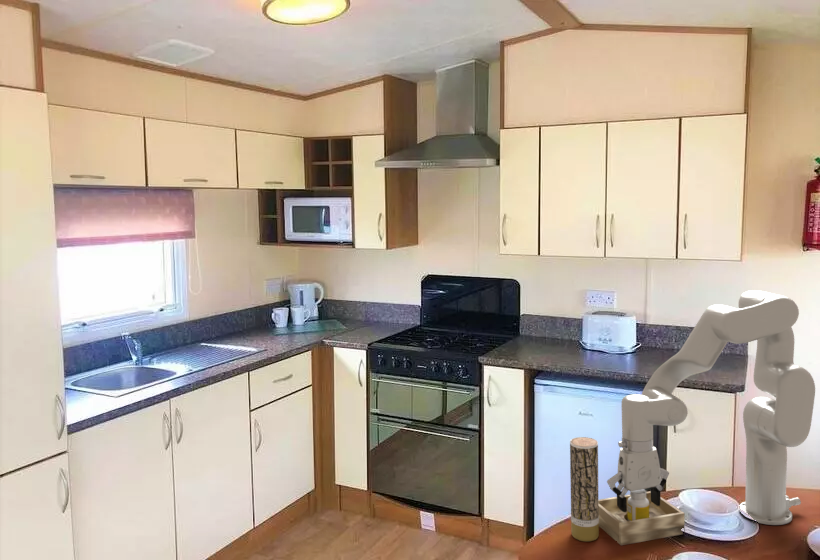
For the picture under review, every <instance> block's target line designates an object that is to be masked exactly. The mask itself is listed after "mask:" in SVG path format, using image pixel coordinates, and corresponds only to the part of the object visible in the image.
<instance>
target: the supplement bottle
mask: <svg viewBox="0 0 820 560" xmlns="http://www.w3.org/2000/svg"><path fill="white" fill-rule="evenodd" d="M646 492H647V490H646V489H641V490H635V491H629V495H630V496H631V497H629V498H628V501H627V515H628V516H627V517H628V521H633V520H639V519H645V518H649V501H648V499H647V498H646V496H647V495H646Z"/></svg>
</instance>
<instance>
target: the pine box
mask: <svg viewBox="0 0 820 560" xmlns="http://www.w3.org/2000/svg"><path fill="white" fill-rule="evenodd" d="M646 495H647V496H646V498H647V499H648V501H649V518H645V519H639V520H633V521H628V517H627V516H628V515H627V511H626V512H623V511H621V510H620V509H619V508H618V506H617V496H613V497H606V498H599V499H598V502H599V528H600V529H602V530H603V531H604V532H605V533H606V535H609V536H610V537H611V538H612V539H613V540H614V541H615V542H616V541H617V542H616V543H617V544H619V546H625V545H631V544H636V543H641V542H646V541H652V540H658V539H664V538H670V537H674V536H680V535H684V534H683V532H682V531H681V529H682V528H684V529H685V519H686V518H685V516H686V515H685V512H683V511H682V510H681V509H679V508H677V507H676V506H675V505H673V504H672V503H670V502H669V501H668V500H666V499H664V498H663V497H661V496H660V498H661V500H660V506H657V505H655V504H654V503H652V502H651V490H650V491H646ZM625 497H626V500H627V501H628V498H629V497H631V496H630V494H625Z"/></svg>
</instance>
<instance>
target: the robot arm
mask: <svg viewBox="0 0 820 560" xmlns="http://www.w3.org/2000/svg"><path fill="white" fill-rule="evenodd" d="M799 314H800V310H799V307H798V305H797V303H796V302H795V301H794V300H793V299H791V298H790V297H787V296H785V295H782V294H776V293H772V292H768V291H765V290H756V289H754V290H753V289H752V290H747V291H745V292H743V293H742V294H741V295H740V297H739V299H738V307H737V308H736V307H733V306H729V305H725V304H713V305H710V306H708V307H707V308H705V310H704V312H703V313H702V315H701V316H700V318H699V320H698V321H697V322H696V323H695V326H694V328H692V331H691V332H690V333H689V336H688V337H687V339H686V340H685V342H684V343H683V344H682V346H681V348H680V349H679V351H678V352H677V353H676V354H674V355H672V356H671V357H670V358H668V359H667V360H665V362H664V363H662V364H661V365H659V367H658V368H657V369H656V370H655V371H654V372H653V373H652V375H651V377H650V378H649V379H648V382H647V383H646V384H645V386H644V388H643V390H642V393H641V394H638V393H637V394H636V393H635V394H628V395H625V396H623V398H622V399H621V431H622V432H621V435H622V436H621V441H618V443H617V444H618V447H619V448H620V449H619V453H618V461H617V463H618V464H617V473H615V474H614V475H613V476H611V477H609V478H608V479H607V481H606V483H607V485H608V486H609V489H610V490H611V491H612V492H613V493H614V494H615V495H616V497H617V506H618V508H619V509H620V510H621V511H623V512H626V511H627V500H626V497H625V495H627V493H628V492H630V491H635V490H641V489H644V490H646V489H650V491H651V502H652V503H654V504H655V505H657V506H660V500H661V498H660V497H661V491H662V490H663V487H664V485H666V483H667V479H668V477H669V475H670V472H669V471H668V470H666V469H664V468H663V467H662V468H661V466H660V464H661V463H660V458H659V454H658V450H657V448H656V446H654V426H664V427H665V426H667V427H671V426H672V427H674V426H678V425H681V424H682V423H683V422H684V421H685V420H686V419H687V417H688V411H689V410H688V407H687V405H686V404H685V402H684V401H683V400H682V399H680V397H677V396H675V395H674V394H673V393H674V391H675V389H676V388H677V387H678V385H679V384H680V383H682V381H684V380H686V379H687V378H689V377H691V376H694V375H697V374H701V373H705V372H708V371H710V370H711V369H712V367H714V364H715V363H716V362H717V360H718V359H719V357H720V356H721V353H722V352H723V350H724V348H725V347H726V346H727V344H728V343H732V344H735V345H740V344H745V343H751V342H754V341H756V353H755V362H754V368H753V383H754V385H755V386H756V388H757V389H758V390H760V391H761V392H763V393H765V394H768V395H769V396H772V397H773V398H775V399H773V398H770V397H767V396H757V397H754V398H751V399H749V401H748V402H747V403H746V404H745V405H744V408H743V412H742V420H743V422H742V423H743V426H744V433H745V440H746V441H745V445H746V446H745V447H746V448H745V449H746V450H745V492H744V493H745V501H742V502H741V503H740V504H739V506H740V509H741V510H743V511H745V512H746V513H748V515H750V516H751V517H752V518H753V519H754V520H756V521H757V522H758V524H763V525H769V526H782V525H786V524H787V525H788V524H789V523H791V521H792V520H793V513H792V511H791V510H790V508H792V506H800V505H801V503H802V502H801V498H800V497H798V496H797V497H791V498H790V497H789V496H788V494H787V473H788V472H787V469H788V468H787V466H788V465H787V464H788V463H787V462H788V451H787V449H788V448H795V447H798V446H800V445H802V444H803V443H804V442H805V441H806V440H807V438H808V437H809V434H810V431H811V426H812V421H813V412H814V407H815V406H814V405H815V398H816V384H815V380H814V377H813V376H812V374H811V372H809V371H808V370H807V369H805V368H804V367H802V366H801V365H797V364H795V363H794V357H795V356H794V354H795V334H794V330H793V328H792V327H793V326H794V325H795V324H796V323H797V321H798V319H799ZM616 483H618V485H617V486H616ZM739 506H738V507H739ZM757 522H756V523H757Z"/></svg>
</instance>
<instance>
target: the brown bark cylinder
mask: <svg viewBox="0 0 820 560" xmlns="http://www.w3.org/2000/svg"><path fill="white" fill-rule="evenodd" d="M569 449H570V450H569V455H570V456H569V460H570V461H569V463H570V465H569V467H570V521H571V522H570V523H571V525H570V528H571V529H570V530H571V531H570V532H571V535H572V537H573V539H576V540H577V541H580V542H586V543H587V542H593V541H596V540H597V539H598V537H599V535H600V534H599V533H600V531H599V530H600V527H599V502H598V500H599V441H598V440H596V438H592V437H589V436H587V437H586V436H585V437H584V436H579V437H574V438H571V439H569Z"/></svg>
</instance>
